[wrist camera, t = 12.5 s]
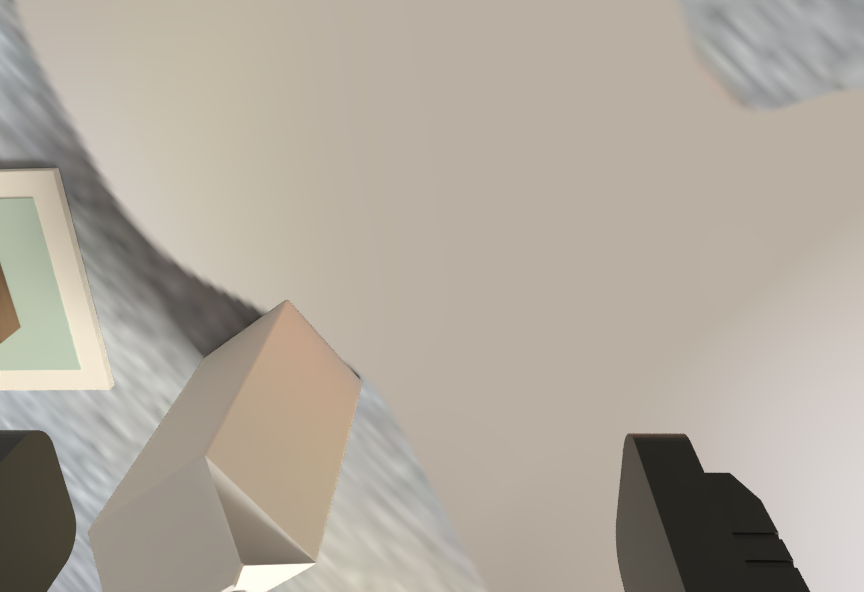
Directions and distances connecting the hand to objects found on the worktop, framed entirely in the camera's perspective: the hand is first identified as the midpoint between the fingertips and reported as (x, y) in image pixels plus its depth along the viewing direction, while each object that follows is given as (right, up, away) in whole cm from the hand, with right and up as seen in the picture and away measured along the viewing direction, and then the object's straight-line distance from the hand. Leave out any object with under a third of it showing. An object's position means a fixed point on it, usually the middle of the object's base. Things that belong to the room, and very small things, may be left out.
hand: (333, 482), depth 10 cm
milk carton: (-8, -2, +35) cm, 36 cm away
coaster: (-26, +3, +33) cm, 42 cm away
